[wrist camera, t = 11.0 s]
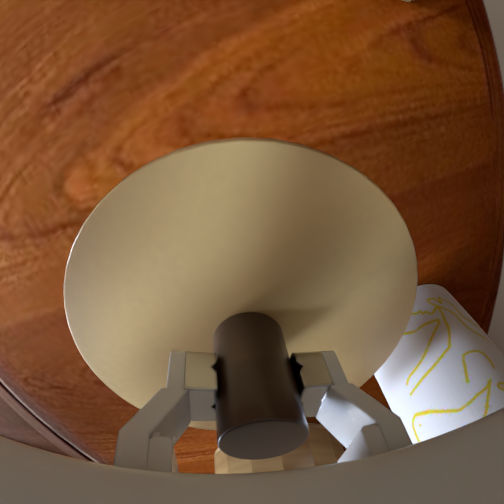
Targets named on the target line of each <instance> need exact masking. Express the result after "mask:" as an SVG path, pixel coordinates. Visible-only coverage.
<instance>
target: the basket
mask: <svg viewBox="0 0 504 504" xmlns="http://www.w3.org/2000/svg"><path fill="white" fill-rule="evenodd" d="M307 424H308V427H309V436H308V438H307V440H306V441H305V442H304V443H303V444H302V445H301V446H300V447H298V448H297V449H295V450H293V451H291V452H289V453H287V454H284V455H281V456H277V457H273V458H268V459H259V460H247V459H239V458H234V457H231V456H229V455H227V454H225V453H223V452H222V451H221V450H220V449H219V447H218V448H217V450H216V452H215V455H214V458H215V462H214V466H215V474H237V473H258V472H272V471H283V470H292V469H301V468H308V467H315V466H322V465H328V464H334V463H338V462H337V461H338V460H339V459H340V457H341V456H342V455H343V453H344V451H343V448H342V445H341V443H340V442H339V441H338V440H337V439H336V438H335V437H334V436H333V435H332V434H331V433H330V432H329V431H328V430H327V429H326V428H325V427H324V426H323V425H322V424H316V423H307Z"/></svg>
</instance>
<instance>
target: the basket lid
mask: <svg viewBox="0 0 504 504" xmlns="http://www.w3.org/2000/svg"><path fill="white" fill-rule="evenodd" d="M417 283H418V273H417V259H416V254H415V250H414V245H413V241H412V239H411V236H410V233H409V231H408V228H407V226H406V223H405V221H404V220H403V218H402V216H401V215H400V213H399V212H398V210H397V208H396V207H395V205H394V204H393V202H392V201H391V200H390V199H389V198H388V197H387V196H386V194H385V193H384V192H383V191H382V190H381V189H380V188H379V187H378V186H377V185H376V184H375V183H374V182H372V181H371V180H370V179H369V178H367V177H366V176H365V175H364V174H362V173H361V172H360V171H359V170H357V169H355V168H354V167H352V166H350V165H348V164H347V163H345V162H343V161H341V160H339V159H338V158H336V157H334V156H332V155H330V154H328V153H326V152H323V151H320V150H317V149H315V148H312V147H309V146H306V145H303V144H299V143H294V142H289V141H284V140H279V139H273V138H253V137H237V138H228V139H219V140H211V141H206V142H202V143H198V144H195V145H191V146H187V147H184V148H180V149H177V150H175V151H172V152H170V153H168V154H166V155H164V156H161V157H159V158H157V159H155V160H153V161H151V162H149V163H147V164H145V165H144V166H142V167H141V168H139V169H138V170H136V171H135V172H133V173H132V174H130V175H129V176H127V177H126V178H124V179H123V180H122V181H121V182H120V183H119V184H118V185H117V186H116V187H114V188H113V189H112V190H111V191H110V192H109V193H108V194H107V195H106V196H105V197H104V198H103V199H102V200H101V201H100V202H99V203H98V205H97V206H96V207H95V208H94V210H93V211H92V212H91V214H90V215H89V216H88V218H87V219H86V220H85V222H84V223H83V225H82V227H81V229H80V231H79V233H78V235H77V237H76V239H75V241H74V243H73V245H72V248H71V251H70V255H69V258H68V261H67V264H66V271H65V278H64V307H65V312H66V317H67V322H68V326H69V329H70V331H71V334H72V337H73V339H74V342H75V344H76V346H77V348H78V349H79V351H80V353H81V355H82V357H83V358H84V360H85V361H86V362H87V364H88V365H89V367H90V368H91V369H92V371H93V372H94V373H95V374H96V375H97V376H98V377H99V378H100V379H101V380H102V381H103V382H104V383H105V384H106V385H107V386H108V387H109V388H110V389H111V390H113V391H114V392H115V393H116V394H117V395H119V396H120V397H121V398H123V399H125V400H126V401H128V402H129V403H131V404H132V405H134V406H136V407H137V408H139V409H141V408H142V407H143V406H144V405H145V404H146V403H147V402H148V401H149V400H150V399H151V398H152V397H153V396H154V395H155V394H156V393H157V392H158V391H159V390H160V389H161V388H166V385H167V375H168V366H169V357H170V352H171V350H173V351H190V352H206V353H216V372H217V402H216V403H215V410H216V421H191V423H190V424H189V425H188V426H189V427H194V428H200V429H208V430H217V445H218V447H219V449H220V450H221V451H222V452H223V453H225V454H227V455H229V456H231V457H234V458H239V459H247V460H259V459H268V458H273V457H277V456H281V455H284V454H287V453H289V452H291V451H293V450H295V449H297V448H298V447H300V446H301V445H302V444H303V443H304V442H305V441H306V440H307V438H308V436H309V427H308V424H307V420H306V416H305V413H304V409H303V405H302V402H301V398H300V394H299V391H298V387H297V383H296V380H295V376H294V372H293V369H292V365H291V362H290V355H291V354H292V353H295V352H315V351H331V350H333V351H334V352H335V353H336V355H337V358H338V360H339V362H340V364H341V367H342V369H343V371H344V374H345V376H346V378H347V381H348V383H349V384H351V383H353V384H354V385H355V386H357V387H358V388H359V387H360V386H362V385H363V384H364V383H365V382H366V381H367V380H368V379H369V378H370V377H372V376H373V375H374V374H375V373H376V372H377V371H378V369H379V368H380V367H381V366H382V365H383V364H384V363H385V362H386V360H387V359H388V358H389V356H390V355H391V354H392V352H393V351H394V349H395V348H396V346H397V345H398V343H399V341H400V339H401V338H402V336H403V334H404V332H405V330H406V327H407V325H408V323H409V320H410V318H411V315H412V311H413V307H414V303H415V299H416V292H417Z"/></svg>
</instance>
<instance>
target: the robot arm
mask: <svg viewBox="0 0 504 504" xmlns="http://www.w3.org/2000/svg"><path fill="white" fill-rule="evenodd" d="M290 362H291V365H292V369H293V372H294V376H295V380H296V383H297V387H298V391H299V394H300V398H301V402H302V405H303V409H304V413H305V416H306V417H316V419H317V420H318V421H319V422H320V423H321V424H322V425H323V426H324V427H325V428H326V429H327V430H328V431H329V432H330V433H331V434H332V435H333V436H334V437H335V438H336V439H337V440H338V441H339V442H340V443H341V444H342V445H344V446H345V447H346V448H347V449H346V451H345V452H344V453H343V455H342V456H341V457H340V459H339V460H338V461H337V462H338V463H334V464H328V465H322V466H315V467H308V468H301V469H292V470H283V471H272V472H258V473H237V474H196V473H179V471H178V466H177V461H176V456H175V451H174V445H175V443H176V442H177V441H178V439H179V438H180V436H181V435H182V434H183V432H184V431H185V430H186V428H187V427H188V425H189V424H190V423H191V421H216V410H215V403H216V402H217V372H216V353H206V352H190V351H173V350H171V352H170V357H169V366H168V375H167V385H166V388H161V389H160V390H159V391H158V392H157V393H156V394H155V395H154V396H153V397H152V398H151V399H150V400H149V401H148V402H147V403H146V404H145V405H144V406H143V407H142V408H141V409H140V410H139V411H138V412H137V413H136V414H135V415H134V416H133V417H132V418H131V419H130V420H129V421H128V422H127V423H126V424H125V425H124V426H123V427H122V428H121V429H120V430H119V433H118V438H117V444H116V451H115V457H114V464H113V465H107V464H101V463H96V462H91V461H86V460H81V459H77V458H73V457H68V456H64V455H60V454H56V453H53V452H49V451H46V450H42V449H39V448H35V447H32V446H29V445H26V444H23V443H20V442H17V441H14V440H11V439H8V438H6V437H3V436H0V504H504V407H503V408H501V409H499V410H497V411H495V412H493V413H491V414H489V415H487V416H485V417H483V418H480V419H478V420H476V421H474V422H471V423H469V424H467V425H464V426H462V427H459V428H457V429H454V430H452V431H449V432H447V433H444V434H441V435H439V436H436V437H433V438H430V439H427V440H424V441H421V442H418V443H415V444H413V443H412V441H411V439H410V437H409V435H408V433H407V430H406V428H405V426H404V424H403V422H402V420H401V418H400V417H399V416H398V415H396V414H395V413H393V412H392V411H391V410H389V409H388V408H386V407H385V406H383V405H382V404H381V403H379V402H378V401H376V400H375V399H374V398H372V397H371V396H369V395H368V394H367V393H365V392H364V391H362V390H361V389H360V388H358V387H357V386H355V385H354V384H353V383H351V384H349V383H348V381H347V378H346V376H345V374H344V371H343V369H342V367H341V364H340V362H339V360H338V358H337V355H336V353H335V352H334V351H333V350H331V351H315V352H295V353H292V354H291V355H290Z"/></svg>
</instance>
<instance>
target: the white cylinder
mask: <svg viewBox="0 0 504 504" xmlns="http://www.w3.org/2000/svg"><path fill="white" fill-rule="evenodd" d="M374 375H375V377H376V379H377V381H378V383H379V385H380V387H381V389H382V391H383V393H384V396H385V398H386V400H387V402H388V404H389V406H390V408H391V410H392V412H393V413H395V414H396V415H398V416H399V417H400V418H401V420H402V422H403V424H404V426H405V428H406V430H407V433H408V435H409V437H410V439H411V441H412V443H413V444H415V443H418V442H421V441H424V440H427V439H430V438H433V437H436V436H439V435H441V434H444V433H447V432H449V431H452V430H454V429H457V428H459V427H462V426H464V425H467V424H469V423H471V422H474V421H476V420H478V419H480V418H483V417H485V416H487V415H489V414H491V413H493V412H495V411H497V410H499V409H501V408H503V407H504V355H503V354H502V353H501V351H500V350H499V349H498V348H497V346H496V345H495V344H494V343H493V342H492V340H491V339H490V338H489V337H488V336H487V334H486V333H485V332H484V331H483V330H482V329H481V327H480V326H479V325H478V324H477V323H476V322H475V321H474V319H473V318H472V317H471V316H470V315H469V314H468V313H467V312H466V310H465V309H464V308H463V307H462V306H461V305H460V304H459V303H458V302H457V301H456V300H455V298H454V297H453V296H452V295H451V294H450V293H449V292H448V291H447V290H446V289H445V288H444V287H442V286H439V285H436V284H425V285H420V286H417V292H416V299H415V303H414V307H413V311H412V315H411V318H410V320H409V323H408V325H407V327H406V330H405V332H404V334H403V336H402V338H401V339H400V341H399V343H398V345H397V346H396V348H395V349H394V351H393V352H392V354H391V355H390V356H389V358H388V359H387V360H386V362H385V363H384V364H383V365H382V366H381V367H380V368H379V369H378V371H377V372H376V373H375V374H374Z"/></svg>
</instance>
